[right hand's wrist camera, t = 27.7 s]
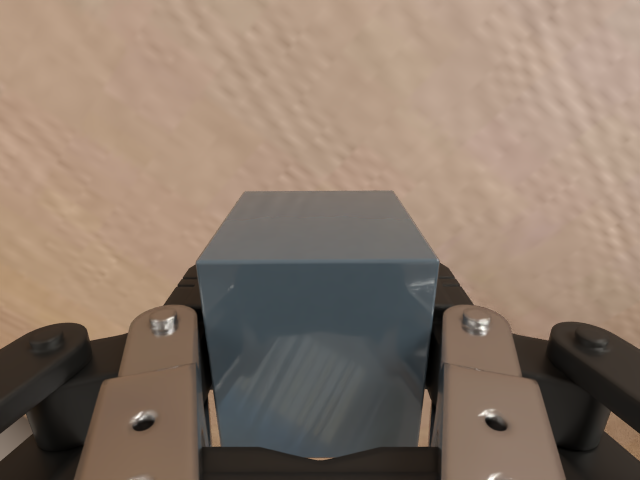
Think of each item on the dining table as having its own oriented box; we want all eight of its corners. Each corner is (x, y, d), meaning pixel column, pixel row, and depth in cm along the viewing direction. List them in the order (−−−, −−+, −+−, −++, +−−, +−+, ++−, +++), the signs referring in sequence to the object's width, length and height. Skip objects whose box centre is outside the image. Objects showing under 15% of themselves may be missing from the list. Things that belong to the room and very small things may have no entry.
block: (243, 190, 11) (194, 261, 7) (393, 189, 11) (441, 259, 7) (254, 332, 13) (221, 459, 9) (384, 331, 13) (417, 459, 9)
